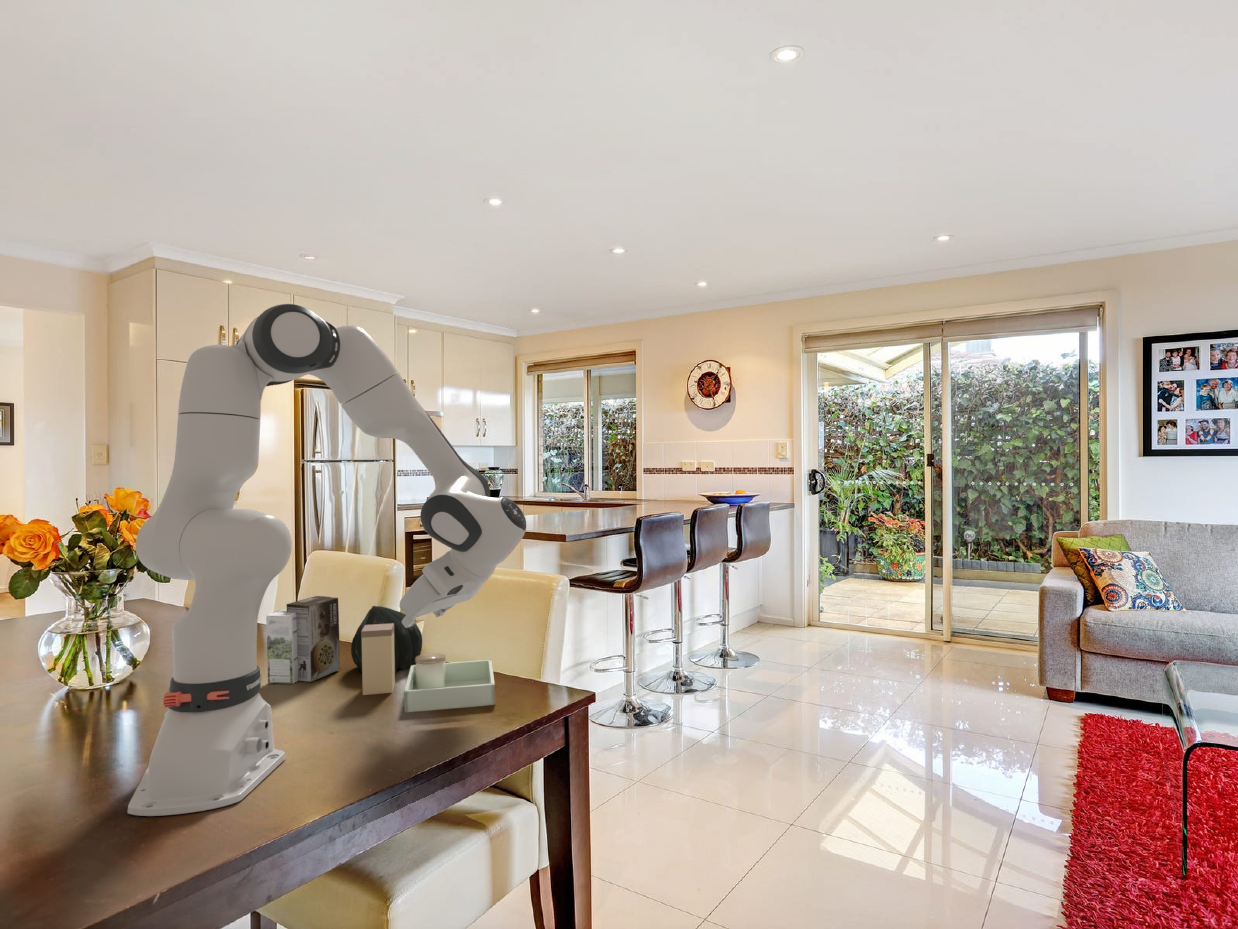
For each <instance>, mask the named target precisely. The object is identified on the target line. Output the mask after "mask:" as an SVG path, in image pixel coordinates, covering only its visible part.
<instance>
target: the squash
mask: <svg viewBox="0 0 1238 929" xmlns="http://www.w3.org/2000/svg"><path fill="white" fill-rule="evenodd" d="M365 615H366V616H365V617H364V618H363V620H362V622H361V623H360V624H359V626H358V627H357V630H356V632H355V634H354V636H353V638H352V641H351V646H350V655H351V659H352V661H353V663H354V665H355V666H356V667H357V668H358V669H359V670H360V671H362V638H361V631H362V629H363V628H364V626H365V625H374V624H391V623H394V656H395V673H397V671H398V670H404V669H406V668H408V667H409V666H411V665H414V664H416V662H415V658H416V657H417V656H419V655H422V654H421V652H422V648H423V636H422V635H423V634H422V632H421V630H420V628H419V626H418V624H417V622H415V623H414V624H413V626H411V627H408V628H405V627H404V625H403V624H402V620H403V618H404V617H405V616H406V615H405V614H404V612H402V611H397V610H395V609H392V608H389V607H385V606H380V605H378V606H376V605H372V606H371V608H370V609H369V610H368V612H367V613H366V614H365Z"/></svg>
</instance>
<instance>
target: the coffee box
mask: <svg viewBox="0 0 1238 929" xmlns="http://www.w3.org/2000/svg"><path fill="white" fill-rule="evenodd" d="M286 610H287V612H292V613H296V615H297V653H298V682H299V681H301V682H310V683H312V682H314V681H316V680H320V679H322V678H323V677H326V676H328V675H330V674H332V673H335V672H338V671H340V670H341V654H340V652H341V650H340V647H341V646H340V619H339V618H340V614H339V613H340V612H339V597H331V596H323V595H315V596H311V597H308V598H305V599H300V600H296V601H293V602H290V603H286Z"/></svg>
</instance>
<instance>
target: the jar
mask: <svg viewBox="0 0 1238 929" xmlns="http://www.w3.org/2000/svg"><path fill="white" fill-rule="evenodd" d="M445 663H446V654H444V653H437V652H431V653H430V652H429V653H423V654H420V655H419V656H417V657H416V658H415V665H416V690H419V689H432V688H444V687H446V686H445Z"/></svg>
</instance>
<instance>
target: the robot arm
mask: <svg viewBox="0 0 1238 929" xmlns="http://www.w3.org/2000/svg"><path fill="white" fill-rule="evenodd" d="M307 375H310V376H313V377H315V378H317V379H319V380H321V381H322V382H323V383H325V385H326V386H327V387H328V388H329V389H331V392H332V393H333V395H334V397H335V398H336V399H337V402H338V403H339V404H340V405H341V407H342V409H343V411H344V412H345V414H346V415H347V416H348V417H349V419H350V420H351V421H352V423H353V424H354V425H355V426H356V427H358V429H359V430H361V432H362V433H364V434H365V435H368V436H370V437H373V438H378V439H395V440H397V441H398V440H399V441H401V442H403V443H404V444H406V445H407V446H408V447H409V448H410V449H411V450H412V451H413V452H414V454H415V455H416V457H417V458H418V459H419V460H420V462H422V464H423V466H424V467H425V469H426V470H428V472H429V473H430V475H431V476H432V478H433V481H434V486H435V488H434V490H433V491H432V492H431V493H430V495H429V496H428V497H427V500H426V501H425V502H424V504H422V507H421V510H420V514H419V515H420V522H421V525H422V527H423V529H424V531H425V532H426V533H427V534H428V535H429V536H430V537H431V538H432V539H434V540H435V541H438V542H439V543H441V544H442V545H444V546H446V547H448V548H450V550H449V551H446V552H445V553H444V554H443V555H441V556H440V557H438V558H437V559H436V558H435V560H433V561H431V562H428V563H427V564H426V565H425V566H424V567H423V568H422V569H421V570H422V571H421V572H422V573H423V574H422V575H420V576H419V577H418V578H417V579H416V580H415V581H414V582H413V584H412V585H411V586H410V587H409V588H408V590H406V593H405V594H404V595H403V597H401V599H400V601H399V608H400V610H401V612H402V613H404V614H405V615H406V616H405V617H404V618H403V620H402V624H403V625H404V627H405V628H408V627H411V626H413V624H414V623H417V618H419V617H422V616H425V615H428V614H431V613H433V615H435V617H436V618H438V617H442V616H444V615H445V614H446V612H447V611H449V610H450V609H452V608H453V607H454V606H456V605H457V604H462V603H464V602H468V601H470V600H471V599H473V598H474V597H475V596H476V594H477V593H478V592H479V591H480V590H481V589H482V587H483V586H484V585H485V583H486V582H487V581H488V580H489V578H490V577H492V575H493V574H494V572H495V570H496V568H497V567H498V565H499V564H500V563H503V562H504V561H506V559H507V558H508V557H509V556H510V555H511V553H513V551H514V550H515V549H516V547H517V546H518V545H519V544H520V542H521V541H522V539H523V538H524V536H525V534H526V531H527V520H526V517H525V515H524V512H523V511H522V509H521V508H520V506H519V505H517V503H516V502H515V501H514V500H512V499H510V498H508V497H505V496H501V497H491V488H490V486H489V483H488V481H487V479H486V478H485V477H484V475H482V474H481V472H479V471H478V470H477V469H475V468H474V467H472V466H471V465H470V464H469V463H467V462H466V461H465V460H464V459H463V458H462V457H461V456H460V455H459V453H458V452H457V451H456V449H455V448H454V447H453V445H452V444H451V443H450V441H449V440H448V438H447V437H446V436H445V435H444V433H443V432H442V431H441V429H440V428H439V426H438V425H437V424H436V422H435V421H434V420H433V418H432V417H431V416H430V415H429V414H428V412H427V411H426V410H425V409H424V408H423V407H422V404H420V403H419V401H418V400H417V398H416V397H415V395H414V394H413V393H412V391H411V390H410V388H409V386H408V385H407V384H406V382H405V380H404V379H403V376H401V374H400V372H399V371H398V369H397V368H396V366H395V365H394V363H393V362H392V360H391V359H390V358H389V356H388V354H386V352H385V351H384V350H383V349H382V348H381V346H380V345H379V344H378V343H377V342H376V340H374V339H373V337H372V336H371V335H370V334H368V332H367V331H366V330H365V329H363V328H361V327H359V326H357V325H342V326H339V327H336V326H335V325H333V324H332V323H331V322H328V321H327V320H325V319H323V318H321V317H320V316H319V315H317V314H316V313H315V312H314V311H312V310H310V309H308V308H306V307H305V306H302V305H299V304H294V303H283V304H277V305H273V306H271V307H269V308H267V309H265V310H264V311H263V312H261V313H260V315H258V316H257V317H255V318H254V319H253V320H252V321H250V324H249V325H248V326H247V328H246V329H245V330H244V332H243V333H242V335H241V336H240V338H239V339H238V341H237V342H236V343H235V344H233V345H227V344H209V345H206V346H202V347H200V348H198V349H196V350H195V351H193V352H192V353H191V354H190V355H189V358H188V359H187V363H186V367H185V370H184V373H183V377H182V382H181V388H180V392H179V394H180V395H179V399H178V400H179V401H178V412H177V426H176V440H175V441H176V442H175V453H174V463H173V468H172V471H171V476H170V479H169V481H168V485H167V487H166V490H165V491H164V495H163V497H162V499H161V501H160V504H159V506H158V508H156V510H155V512H154V513H153V514H152V515H151V516H150V518H148V519H147V520H146V521H145V522H144V523H143V524H142V526H141V527H140V528H139V530H138V533H137V535H136V539H135V552H136V555H137V557H138V560H139V562H140V563H141V564H142V565H143V566H144V567H146V569H147V570H150V571H151V572H154V573H157V574H159V575H161V576H164V577H166V578H169V579H173V580H183V581H195V589H194V594H193V597H192V599H191V600H192V601H191V604H190V606H189V608H188V610H187V611H186V613H184V614H183V615H181V616H180V617H179V618H178V619H177V620H176V621H175V623H174V625H173V628H172V668H173V669H172V671H173V672H172V673H173V675H172V676H173V677H172V678H171V679H170V682H169V687H168V691H167V692H165V693H164V695H163V699H162V700H163V701H162V703H163V704H162V706H163V707H164V708H166V709H167V708H168V710H167V711H166V712H165V713H164V718H163V720H162V723H161V726H160V728H159V731H158V733H157V736H156V740H155V742H154V745H153V747H152V751H151V753H150V757H149V759H148V767H147V769H146V770H145V772H144V774H143V776H142V778H141V780H140V782H139V784H138V785H137V788H136V789H135V791H134V793H133V796H132V797H131V799H130V801H129V802H128V806H127V814H128V815H133V816H141V817H143V816H145V817H156V816H157V817H158V816H159V817H160V816H172V815H173V816H174V815H181V814H189V813H190V814H191V813H196V812H204V811H207V810H213V809H214V810H215V809H218V808H222V807H226V806H229V805H234V804H235V803H238V802H241V801H242V800H243V799H244V798H246V796H247V795H248V794H250V793H251V792H252V791H254V789H255V788H256V787H257V786H258V785H260V783H262V782H263V780H264V779H266V778H267V777H268V776H269V775H270V774H271V773H272V772H273V771H274V770H275V769H277V767H279V765H281V763H283V762H284V761H285V760H286V753H285V751H284V750H281V749H277V748H275V738H274V726H273V714H272V713H273V712H272V711H273V710H272V706H271V705H270V704H269V703H268V702H267V701H266V700H265V699H263V697H262V695H261V693H260V691H261V689H262V686H261V682H262V674H261V667H260V666H258V665H257V664H258V662H257V661H258V658H257V657H258V655H257V653H258V652H257V651H258V650H257V647H258V644H257V642H258V640H257V639H258V637H257V636H258V619H259V613H260V608H261V605H262V603H263V600H264V596H265V593H266V591H267V589H268V587H269V585H270V583H271V582H272V581H273V580H274V578H276V577H277V576H279V574H280V573H282V571H283V570H284V569H285V567H286V566H287V565H288V562H289V560H290V557H291V555H292V548H293V543H292V535H291V533H290V530H289V529H288V526H287V525H286V524H285V523H284V522H283V520H281V519H279V518H278V517H276V516H273V515H270V514H267V513H265V512H262V511H261V512H260V511H256V510H253V509H249V508H248V509H245V508H244V509H239V508H235V509H234V504H235V502H236V499H237V496H238V494H239V492H240V490H241V488H242V487H243V485H244V484H245V483H246V482H247V481H248V480H249V479H250V478H252V477H253V476H254V474H255V473H256V471H257V469H258V467H259V457H260V456H259V455H260V454H259V453H260V439H261V438H260V436H261V412H262V411H261V410H262V408H261V404H262V403H261V402H262V399H263V395H264V391H265V388H266V387H270V386H277V385H278V386H279V385H282V384H287V383H289V382H292V381H294V380H297V379H300V378H302V377H304V376H307Z"/></svg>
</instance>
